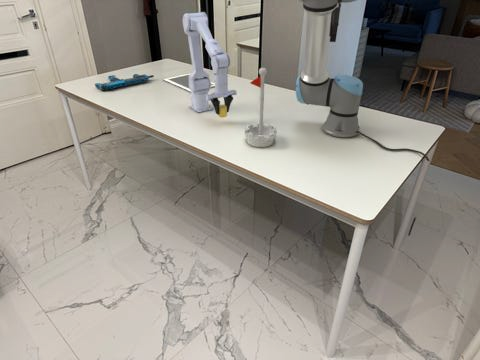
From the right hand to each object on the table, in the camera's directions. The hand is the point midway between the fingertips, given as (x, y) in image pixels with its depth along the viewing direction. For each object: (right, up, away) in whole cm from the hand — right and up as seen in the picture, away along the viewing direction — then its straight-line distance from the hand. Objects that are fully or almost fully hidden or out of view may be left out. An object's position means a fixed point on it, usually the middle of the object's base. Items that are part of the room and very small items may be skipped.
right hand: (331, 39), depth 166 cm
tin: (-53, -40, -11) cm, 67 cm away
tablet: (-75, -9, +42) cm, 87 cm away
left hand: (-53, -38, -12) cm, 67 cm away
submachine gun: (-117, -9, +43) cm, 124 cm away
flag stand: (-36, -53, -25) cm, 69 cm away
